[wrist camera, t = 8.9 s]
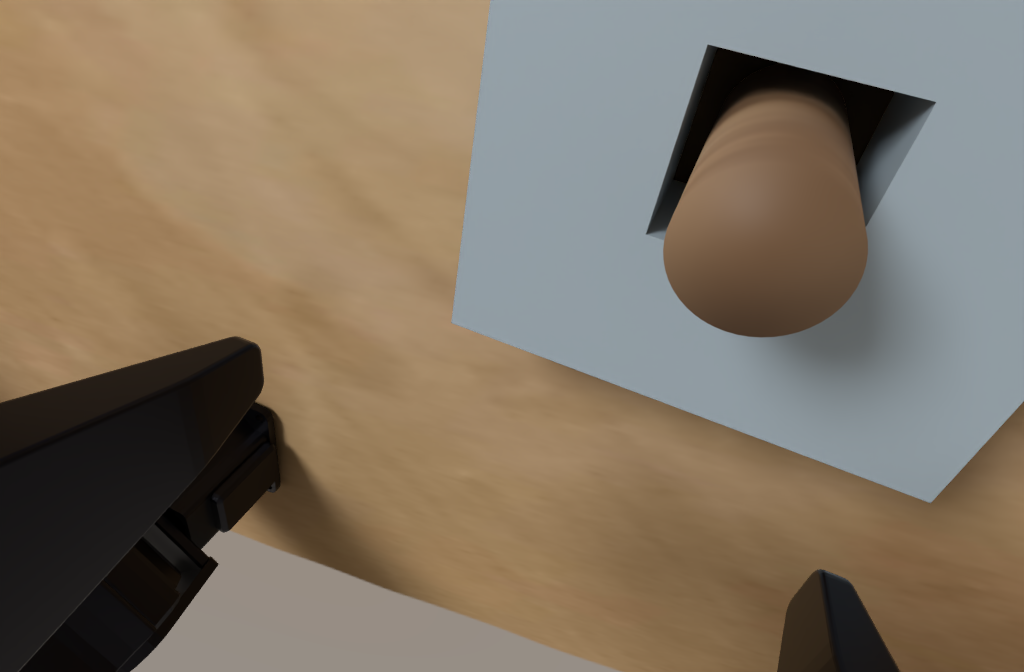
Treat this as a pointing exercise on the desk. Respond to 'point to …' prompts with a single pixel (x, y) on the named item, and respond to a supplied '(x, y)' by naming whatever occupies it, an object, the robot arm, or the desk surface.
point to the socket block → (655, 195)
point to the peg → (771, 210)
